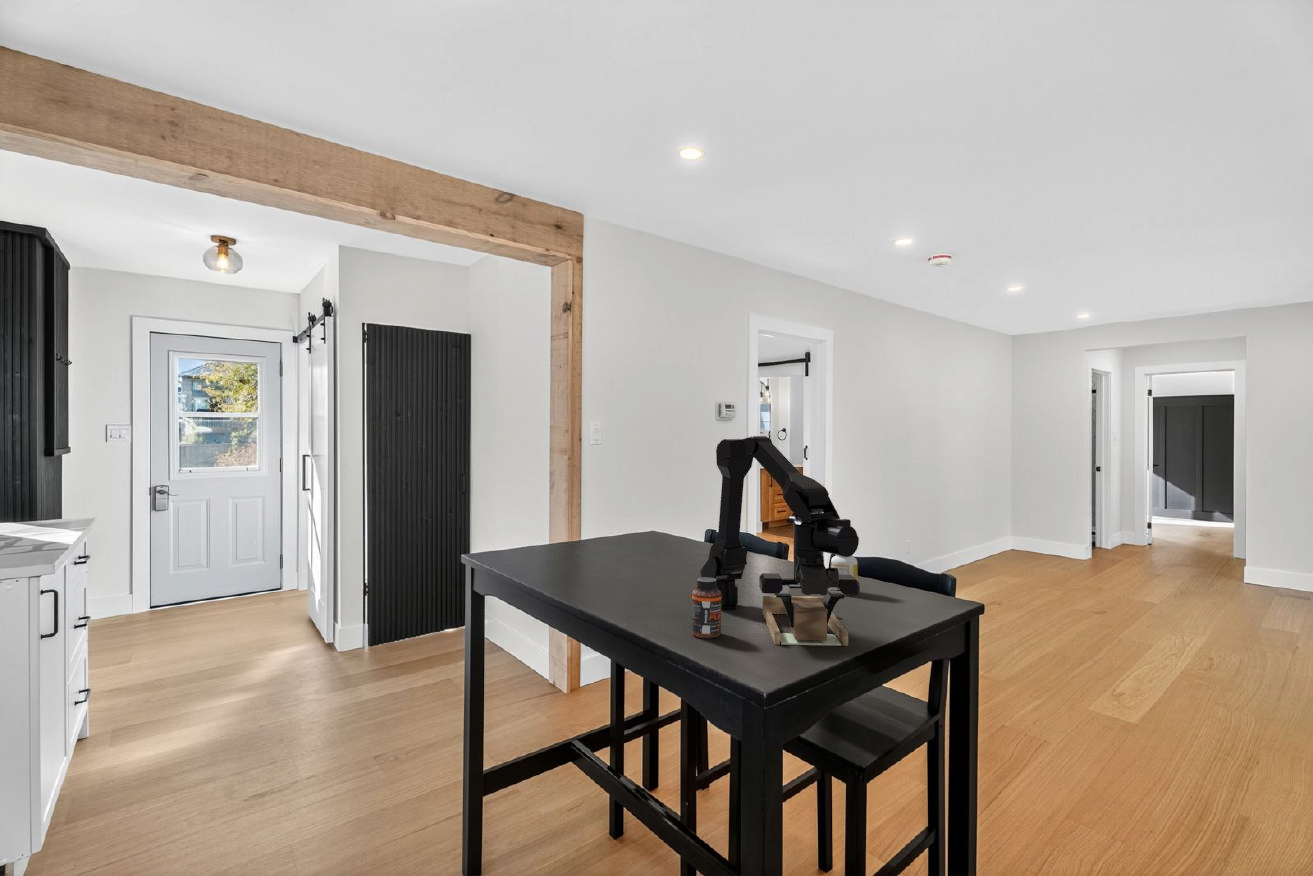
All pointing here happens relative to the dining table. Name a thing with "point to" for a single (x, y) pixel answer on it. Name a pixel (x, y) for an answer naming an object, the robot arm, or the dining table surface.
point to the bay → (777, 607)
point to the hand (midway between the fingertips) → (808, 627)
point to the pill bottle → (845, 565)
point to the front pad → (790, 640)
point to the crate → (809, 620)
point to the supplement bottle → (706, 609)
